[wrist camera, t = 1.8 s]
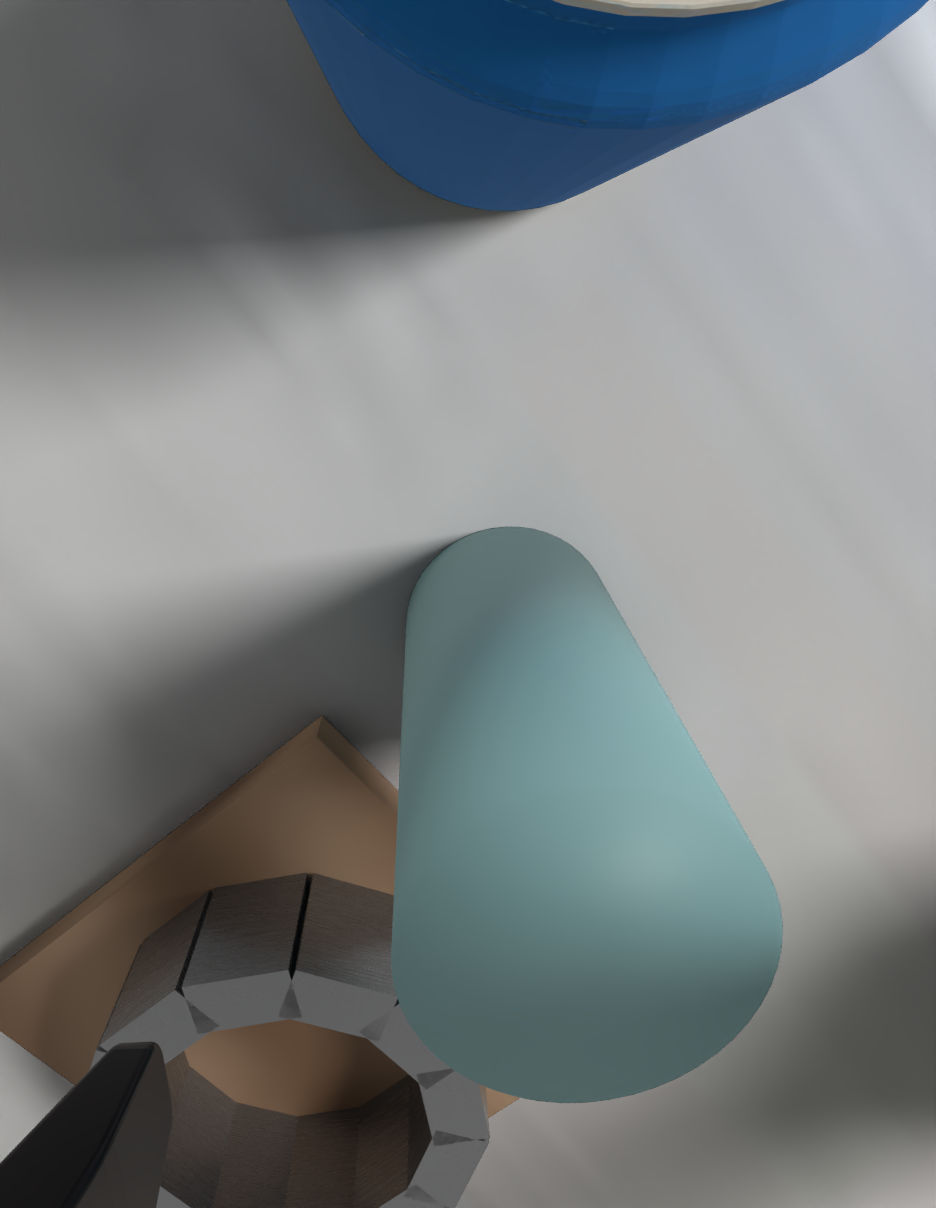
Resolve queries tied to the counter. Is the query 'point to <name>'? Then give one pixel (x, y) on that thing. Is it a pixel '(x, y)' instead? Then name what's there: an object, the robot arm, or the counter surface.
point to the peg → (561, 841)
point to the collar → (310, 995)
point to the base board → (198, 864)
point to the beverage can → (567, 81)
